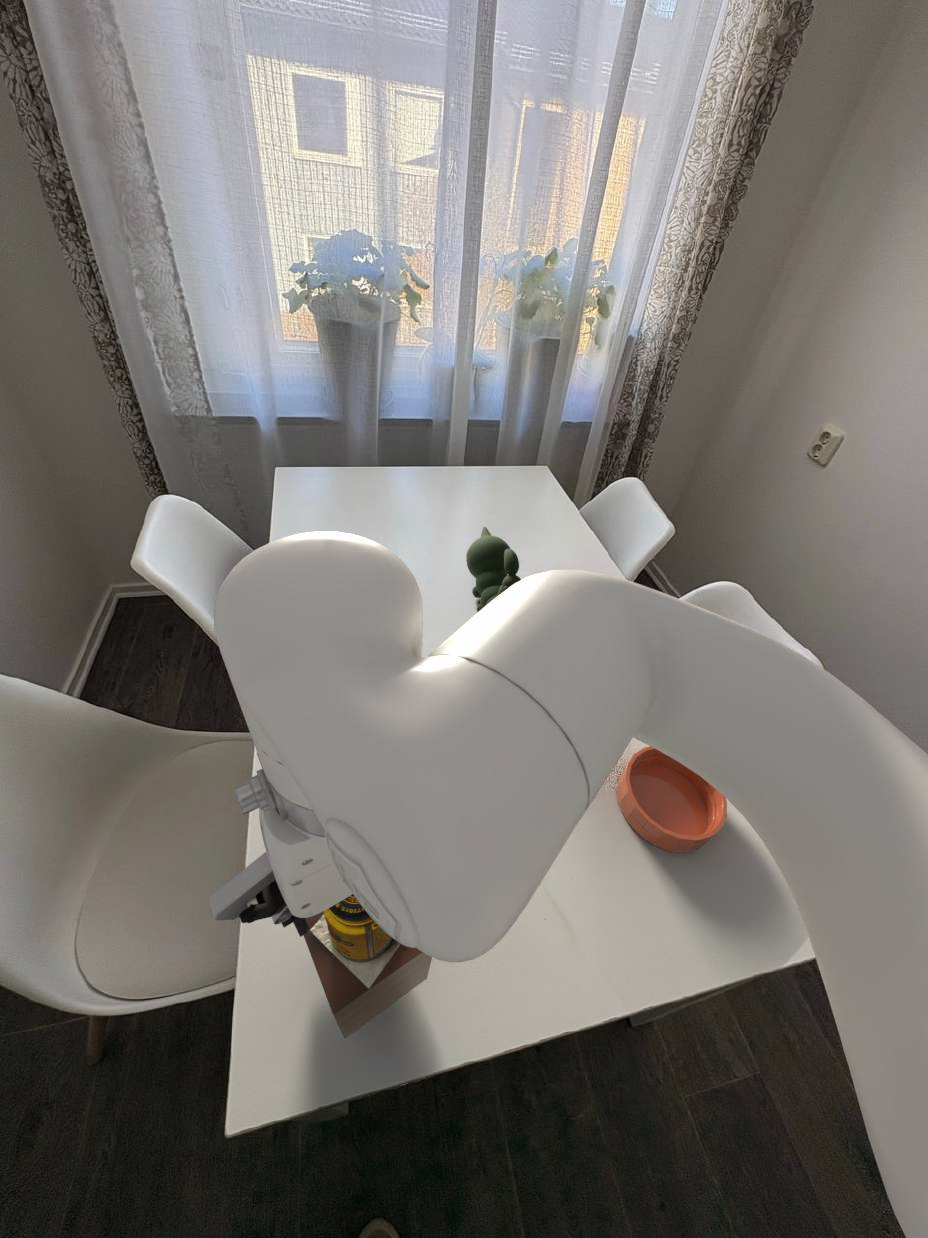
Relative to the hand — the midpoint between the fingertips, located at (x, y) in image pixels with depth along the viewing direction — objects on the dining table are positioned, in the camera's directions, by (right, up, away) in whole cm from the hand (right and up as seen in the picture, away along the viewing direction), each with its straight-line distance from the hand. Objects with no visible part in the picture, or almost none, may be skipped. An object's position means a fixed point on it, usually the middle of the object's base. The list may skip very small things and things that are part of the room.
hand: (360, 876), depth 38 cm
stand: (-3, -20, +20) cm, 29 cm away
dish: (+38, -8, +38) cm, 54 cm away
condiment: (-1, -9, +10) cm, 13 cm away
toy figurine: (+13, +23, +67) cm, 72 cm away
